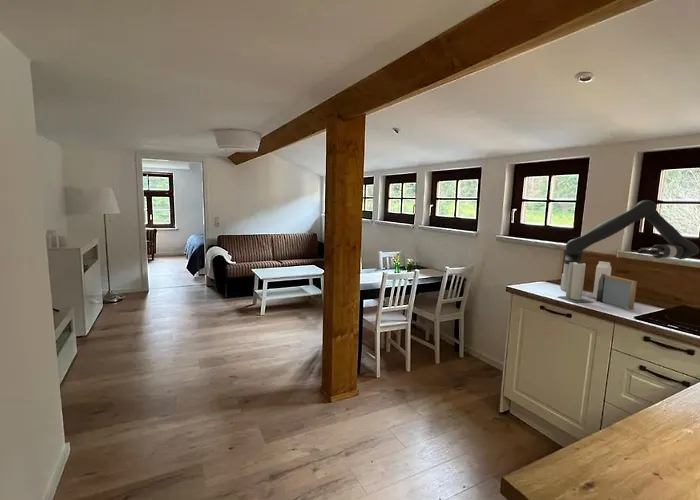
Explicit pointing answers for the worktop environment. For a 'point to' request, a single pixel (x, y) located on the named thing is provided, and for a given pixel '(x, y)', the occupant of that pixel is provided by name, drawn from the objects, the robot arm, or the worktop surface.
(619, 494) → the worktop surface
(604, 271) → the milk
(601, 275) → the post
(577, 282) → the white carton
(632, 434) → the worktop surface
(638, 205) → the robot arm
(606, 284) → the picture frame
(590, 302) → the mat
